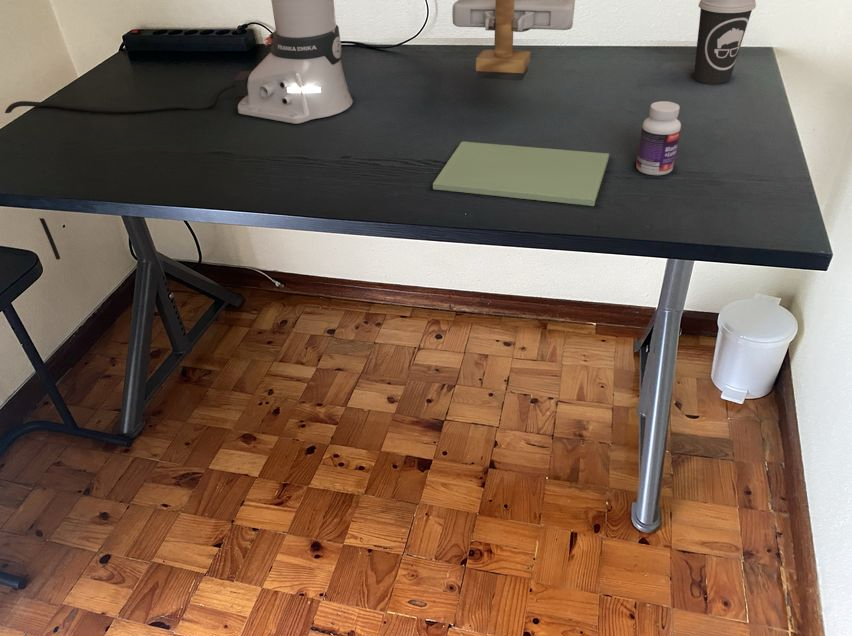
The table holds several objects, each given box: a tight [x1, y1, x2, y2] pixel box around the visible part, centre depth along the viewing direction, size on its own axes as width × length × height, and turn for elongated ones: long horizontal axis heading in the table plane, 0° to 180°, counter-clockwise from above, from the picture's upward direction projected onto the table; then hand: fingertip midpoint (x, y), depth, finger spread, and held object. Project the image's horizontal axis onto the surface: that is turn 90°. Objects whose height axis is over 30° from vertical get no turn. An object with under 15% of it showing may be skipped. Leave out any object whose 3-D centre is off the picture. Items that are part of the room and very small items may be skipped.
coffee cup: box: [693, 0, 757, 85], centre depth 135 cm, size 10×10×15 cm
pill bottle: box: [635, 100, 682, 176], centre depth 108 cm, size 5×5×10 cm
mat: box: [432, 141, 610, 207], centre depth 113 cm, size 24×16×1 cm, turn 70°
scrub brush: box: [475, 0, 531, 81], centre depth 119 cm, size 8×5×13 cm, turn 70°
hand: (503, 25), depth 117 cm, fingers closed on scrub brush, 3 cm apart
